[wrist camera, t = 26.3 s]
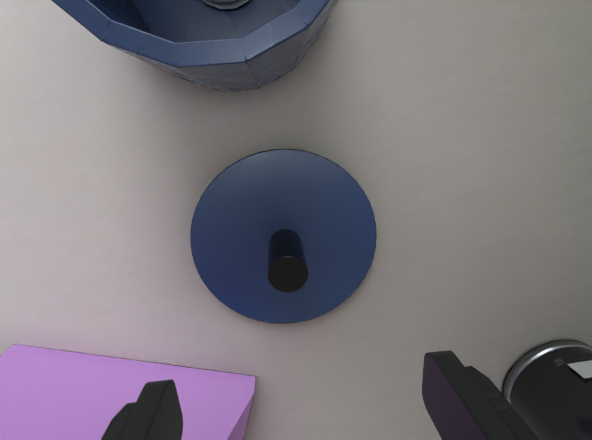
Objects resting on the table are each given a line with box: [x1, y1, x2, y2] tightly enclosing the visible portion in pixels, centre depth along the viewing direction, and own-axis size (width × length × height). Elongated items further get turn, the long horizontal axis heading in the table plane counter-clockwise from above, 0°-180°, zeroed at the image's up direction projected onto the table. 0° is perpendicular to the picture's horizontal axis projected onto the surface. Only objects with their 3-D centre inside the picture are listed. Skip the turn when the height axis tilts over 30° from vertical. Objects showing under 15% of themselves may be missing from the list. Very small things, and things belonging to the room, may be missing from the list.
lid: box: [190, 149, 376, 323], centre depth 21 cm, size 14×14×6 cm
